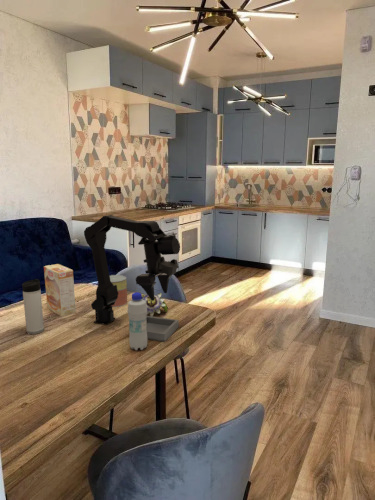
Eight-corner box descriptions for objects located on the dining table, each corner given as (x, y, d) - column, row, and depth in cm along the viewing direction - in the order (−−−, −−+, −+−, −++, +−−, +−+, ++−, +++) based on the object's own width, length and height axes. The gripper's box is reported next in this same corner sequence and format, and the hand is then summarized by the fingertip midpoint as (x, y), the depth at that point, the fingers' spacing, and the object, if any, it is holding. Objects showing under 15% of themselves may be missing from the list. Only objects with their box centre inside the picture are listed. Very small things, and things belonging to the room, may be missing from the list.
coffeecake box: (46, 307, 171) (43, 266, 167) (61, 304, 176) (58, 263, 172) (60, 317, 160) (57, 272, 156) (76, 312, 165) (73, 269, 161)
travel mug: (48, 329, 148) (44, 279, 144) (35, 335, 142) (30, 284, 138) (36, 326, 150) (31, 278, 146) (23, 332, 144) (18, 282, 140)
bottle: (144, 352, 128) (143, 296, 124) (126, 351, 129) (123, 295, 125) (150, 344, 134) (149, 290, 130) (132, 342, 136) (130, 289, 132)
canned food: (119, 297, 185) (118, 273, 182) (132, 303, 177) (131, 278, 174) (98, 302, 177) (97, 278, 175) (111, 309, 169) (109, 283, 167)
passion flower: (152, 328, 162) (135, 309, 156) (148, 314, 171) (133, 296, 166) (173, 313, 161) (158, 294, 156) (169, 300, 171) (154, 282, 166)
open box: (130, 336, 141) (129, 329, 140) (146, 322, 153) (146, 315, 153) (164, 341, 136) (164, 334, 135) (178, 327, 149) (178, 319, 148)
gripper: (158, 259, 127) (165, 304, 129) (184, 249, 143) (189, 289, 145) (131, 261, 132) (138, 304, 134) (159, 251, 148) (164, 289, 150)
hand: (159, 296), depth 141 cm, fingers open, 9 cm apart
